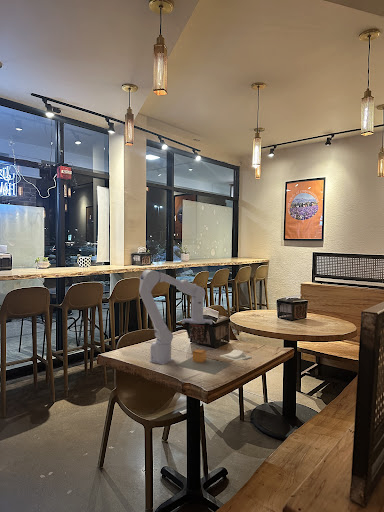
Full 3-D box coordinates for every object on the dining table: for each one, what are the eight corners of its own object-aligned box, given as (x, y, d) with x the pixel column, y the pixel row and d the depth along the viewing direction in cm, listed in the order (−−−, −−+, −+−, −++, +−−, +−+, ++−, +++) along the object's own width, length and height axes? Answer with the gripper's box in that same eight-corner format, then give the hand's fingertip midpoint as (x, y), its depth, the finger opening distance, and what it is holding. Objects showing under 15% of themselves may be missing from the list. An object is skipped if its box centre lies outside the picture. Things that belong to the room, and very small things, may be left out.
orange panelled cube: (192, 360, 161) (192, 351, 161) (197, 358, 165) (197, 348, 165) (201, 362, 159) (201, 352, 159) (206, 359, 163) (206, 350, 162)
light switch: (252, 351, 170) (236, 355, 161) (252, 360, 170) (236, 364, 161) (234, 347, 178) (218, 350, 169) (234, 355, 178) (218, 359, 169)
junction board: (175, 367, 155) (175, 365, 154) (193, 358, 168) (193, 356, 168) (214, 376, 144) (214, 374, 144) (231, 365, 158) (231, 363, 158)
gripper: (181, 311, 166) (181, 339, 166) (211, 312, 164) (211, 341, 164) (183, 309, 173) (183, 336, 173) (212, 310, 171) (212, 337, 171)
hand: (197, 338), depth 169 cm, fingers open, 7 cm apart
